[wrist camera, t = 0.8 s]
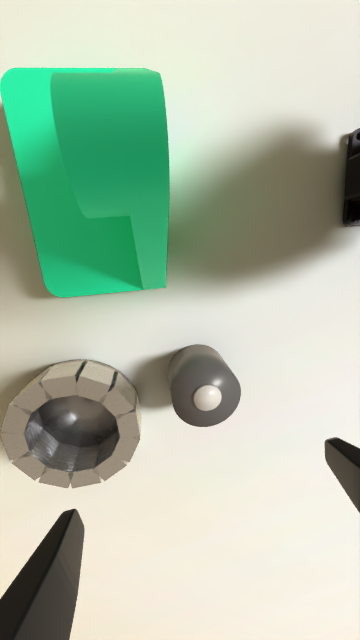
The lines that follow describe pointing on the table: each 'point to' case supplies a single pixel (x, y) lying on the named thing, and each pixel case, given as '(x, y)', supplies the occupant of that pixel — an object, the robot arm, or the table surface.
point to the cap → (202, 386)
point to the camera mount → (92, 174)
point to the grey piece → (73, 424)
